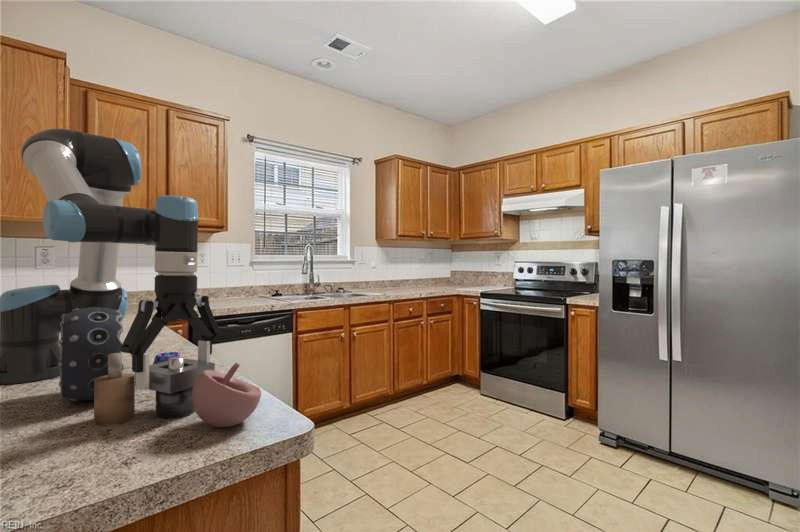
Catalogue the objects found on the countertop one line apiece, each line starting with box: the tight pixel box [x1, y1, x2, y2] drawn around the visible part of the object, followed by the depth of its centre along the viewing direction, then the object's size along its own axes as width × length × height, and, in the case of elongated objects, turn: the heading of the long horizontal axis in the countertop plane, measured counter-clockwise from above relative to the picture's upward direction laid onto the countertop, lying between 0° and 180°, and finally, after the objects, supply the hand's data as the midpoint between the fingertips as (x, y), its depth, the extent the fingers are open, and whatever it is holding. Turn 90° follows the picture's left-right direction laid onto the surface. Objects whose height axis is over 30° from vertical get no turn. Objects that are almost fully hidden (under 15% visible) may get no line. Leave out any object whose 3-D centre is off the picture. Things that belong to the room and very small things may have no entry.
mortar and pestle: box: [192, 362, 262, 428], centre depth 77 cm, size 12×12×11 cm
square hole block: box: [134, 357, 216, 394], centre depth 82 cm, size 10×10×4 cm
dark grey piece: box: [58, 307, 125, 402], centre depth 90 cm, size 11×20×20 cm, turn 37°
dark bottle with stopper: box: [155, 356, 196, 420], centre depth 82 cm, size 7×7×11 cm
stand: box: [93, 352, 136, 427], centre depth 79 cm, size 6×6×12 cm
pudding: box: [152, 351, 182, 365], centre depth 112 cm, size 12×12×5 cm
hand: (175, 379), depth 82 cm, fingers open, 13 cm apart
